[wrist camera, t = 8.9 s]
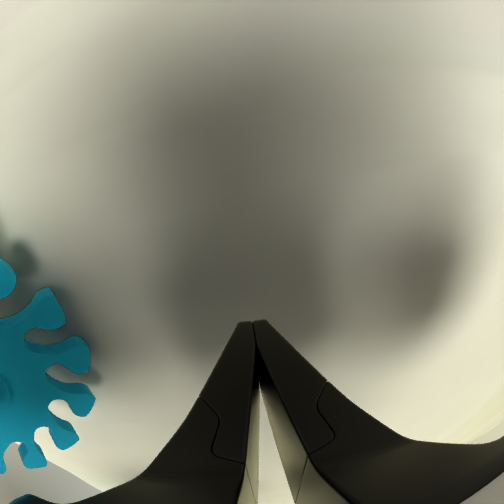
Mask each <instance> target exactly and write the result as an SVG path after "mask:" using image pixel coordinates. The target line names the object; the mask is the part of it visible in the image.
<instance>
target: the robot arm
mask: <svg viewBox="0 0 504 504" xmlns="http://www.w3.org/2000/svg"><path fill="white" fill-rule="evenodd" d="M259 384H260V389H261V393H262V397H263V400H264V404H265V407H266V411H267V414H268V418H269V421H270V425H271V428H272V431H273V435H274V438H275V441H276V445H277V448H278V451H279V455H280V458H281V461H282V465H283V468H284V471H285V474H286V477H287V481H288V484H289V487H290V490H291V493H292V496H293V499H294V503H295V504H504V436H503V437H501V438H500V439H498V440H496V441H493V442H490V443H484V444H451V443H436V442H425V441H416V440H412V439H409V438H406V437H404V436H402V435H400V434H398V433H396V432H395V431H393V430H392V429H390V428H389V427H387V426H386V425H384V424H383V423H381V422H380V421H378V420H377V419H375V418H374V417H372V416H371V415H369V414H368V413H366V412H365V411H364V410H362V409H361V408H359V407H358V406H357V405H355V404H354V403H353V402H351V401H350V400H349V399H348V398H346V397H345V396H344V395H343V394H342V393H341V392H340V391H339V390H337V389H336V388H335V387H334V386H333V385H332V384H331V383H330V382H327V379H326V378H325V377H324V376H323V375H322V374H320V373H319V372H318V371H317V370H316V369H315V368H314V367H313V366H312V365H311V364H310V363H309V362H308V361H307V360H306V359H305V358H304V357H303V356H302V355H301V354H300V353H299V352H298V351H297V350H296V349H295V348H294V347H293V346H292V345H291V344H290V343H289V342H288V341H287V340H286V339H285V338H284V337H283V336H282V335H281V334H280V333H279V332H278V331H277V330H276V329H275V328H274V327H273V326H272V325H271V324H270V323H269V322H268V321H267V320H265V319H263V320H254V321H253V323H252V322H251V321H244V322H239V323H238V324H237V326H236V328H235V330H234V332H233V334H232V336H231V338H230V339H229V341H228V343H227V345H226V347H225V349H224V351H223V352H222V354H221V356H220V358H219V360H218V362H217V364H216V365H215V367H214V369H213V371H212V373H211V375H210V377H209V378H208V380H207V382H206V384H205V386H204V388H203V389H202V391H201V393H200V395H199V397H198V398H197V400H196V402H195V404H194V406H193V407H192V409H191V411H190V412H189V414H188V415H187V417H186V419H185V420H184V422H183V423H182V424H181V426H180V427H179V429H178V430H177V431H176V433H175V434H174V435H173V437H172V438H171V439H170V440H169V442H168V443H167V444H166V446H165V447H164V448H163V449H162V451H161V452H160V453H159V454H158V456H157V457H156V458H155V459H154V461H153V462H152V463H151V464H150V465H149V467H148V468H147V469H146V470H145V471H144V472H142V473H141V474H140V475H139V476H137V477H136V478H134V479H132V480H130V481H128V482H126V483H124V484H122V485H119V486H117V487H115V488H112V489H110V490H107V491H105V492H103V493H100V494H97V495H95V496H93V497H90V498H87V499H84V500H81V501H78V502H74V503H69V504H258V466H259V403H260V390H259ZM9 504H56V503H52V502H49V501H46V500H44V499H41V498H39V497H37V496H34V495H31V494H26V495H24V496H21V497H19V498H17V499H15V500H13V501H12V502H10V503H9Z"/></svg>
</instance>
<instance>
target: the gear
mask: <svg viewBox="0 0 504 504" xmlns="http://www.w3.org/2000/svg"><path fill="white" fill-rule="evenodd" d="M15 285H16V275H15V271H14V270H13V269H12V267H11V266H10V265H9V264H8V263H7V262H5V261H4V260H3V259H1V258H0V299H1V298H4V297H7V296H8V295H10V294H11V293H12V291H13V290H14V288H15ZM65 321H66V320H65V315H64V313H63V310H62V308H61V306H60V304H59V303H58V301H57V299H56V298H55V296H54V294H53V293H52V291H51V290H50V288H43V289H40V290H39V291H37V292H36V294H35V295H34V297H33V298H32V300H31V302H30V303H29V304H28V305H27V306H26V307H25V308H24V309H23V310H22V311H20V312H19V313H17V314H15V315H12V316H9V317H6V318H3V319H0V473H1V474H3V473H5V471H6V466H5V463H4V460H3V455H4V452H5V450H6V449H7V447H8V446H9V444H11V443H12V442H22V443H21V444H20V446H19V448H18V450H19V454H20V456H21V459H22V461H23V464H24V466H25V467H26V468H31V469H33V468H40V467H45V466H47V461H46V458H45V456H44V454H43V452H42V449H41V448H40V446H39V445H38V444H36V442H35V441H34V432H35V430H36V429H37V428H39V427H43V426H45V427H49V433H50V435H51V437H52V439H53V441H54V443H55V445H56V447H58V448H59V449H61V450H65V449H67V448H69V447H71V446H72V445H74V444H75V443H76V442H77V441H78V440H79V437H78V435H77V434H76V432H75V430H74V428H73V427H72V425H71V424H70V423H69V422H68V421H65V420H62V419H60V418H58V417H56V416H55V415H54V414H53V413H52V412H51V411H50V410H49V409H48V405H49V404H50V402H51V401H53V400H55V399H62V400H65V401H66V402H67V403H68V405H69V407H70V408H71V410H72V412H73V413H74V414H75V415H77V416H81V417H84V416H86V415H87V414H88V413H89V412H90V411H91V409H92V407H93V405H94V402H95V399H96V398H95V397H94V395H93V394H92V393H91V391H90V390H89V388H88V387H87V386H86V385H85V384H82V383H73V384H72V383H64V382H60V381H58V380H56V379H54V378H52V377H51V376H49V375H48V374H47V373H46V370H47V368H48V367H49V366H51V365H53V364H61V365H63V366H65V367H66V368H67V369H69V370H70V371H71V372H73V373H76V374H83V373H86V372H88V371H89V368H90V351H89V347H88V345H87V344H86V343H85V341H84V340H83V339H82V338H80V337H78V336H71V337H69V338H67V339H65V340H64V341H61V342H59V343H56V344H51V345H43V344H37V343H33V342H29V341H27V340H26V339H25V338H24V335H25V333H26V331H27V330H29V329H30V328H33V327H39V328H43V329H47V330H55V329H58V328H60V327H61V326H62V325H63V324H64V323H65Z"/></svg>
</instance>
